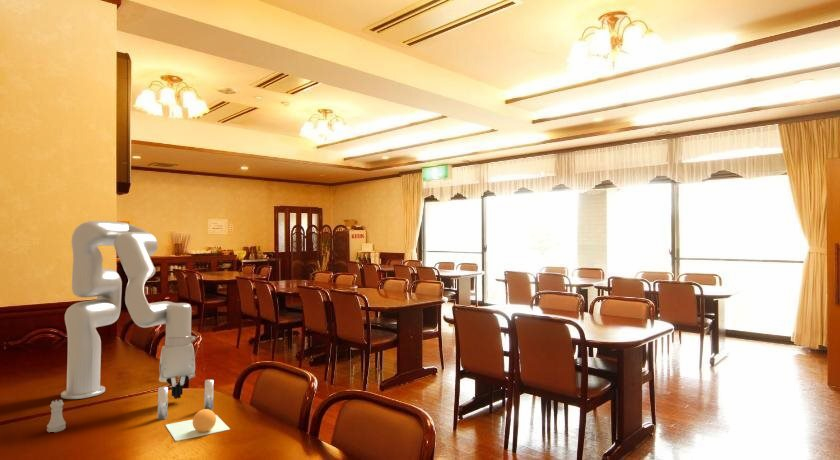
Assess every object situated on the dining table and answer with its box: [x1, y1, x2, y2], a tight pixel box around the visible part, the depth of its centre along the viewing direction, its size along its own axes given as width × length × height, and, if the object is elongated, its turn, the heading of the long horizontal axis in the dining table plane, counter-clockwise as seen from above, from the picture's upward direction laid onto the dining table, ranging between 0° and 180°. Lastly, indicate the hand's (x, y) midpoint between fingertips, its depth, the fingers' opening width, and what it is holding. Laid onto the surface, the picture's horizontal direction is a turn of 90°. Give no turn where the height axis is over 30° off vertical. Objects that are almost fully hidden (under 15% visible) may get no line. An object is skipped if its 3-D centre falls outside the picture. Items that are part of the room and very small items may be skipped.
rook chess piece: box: [46, 399, 67, 433], centre depth 138 cm, size 4×4×8 cm
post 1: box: [157, 386, 169, 420], centre depth 148 cm, size 3×3×9 cm
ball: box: [192, 408, 216, 432], centre depth 138 cm, size 6×6×6 cm
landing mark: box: [164, 414, 231, 442], centre depth 140 cm, size 14×14×1 cm
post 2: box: [203, 378, 215, 411], centre depth 156 cm, size 3×3×9 cm
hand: (176, 397), depth 162 cm, fingers closed
